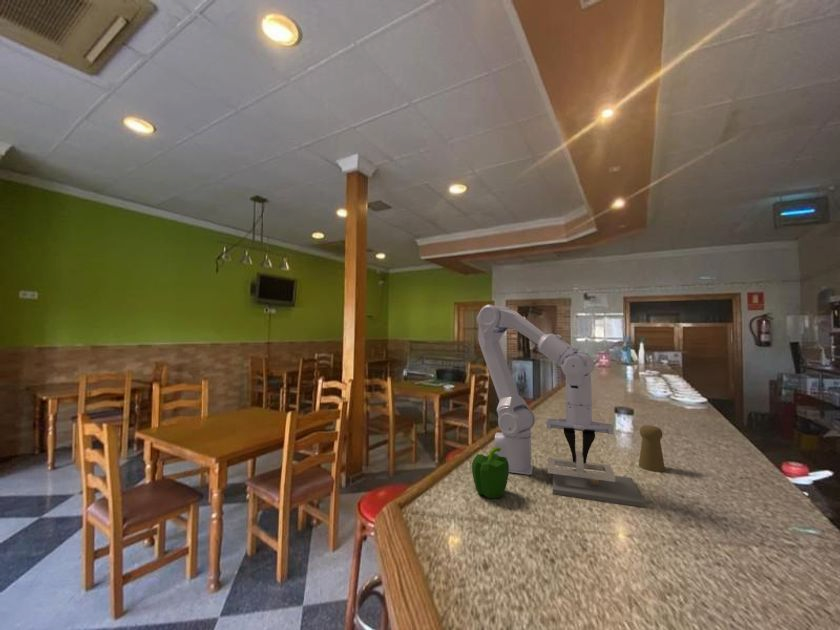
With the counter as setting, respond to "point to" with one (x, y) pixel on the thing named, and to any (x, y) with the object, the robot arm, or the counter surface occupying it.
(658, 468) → the cork
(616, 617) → the counter surface
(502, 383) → the robot arm
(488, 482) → the bell pepper
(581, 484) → the plate
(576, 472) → the double window frame
